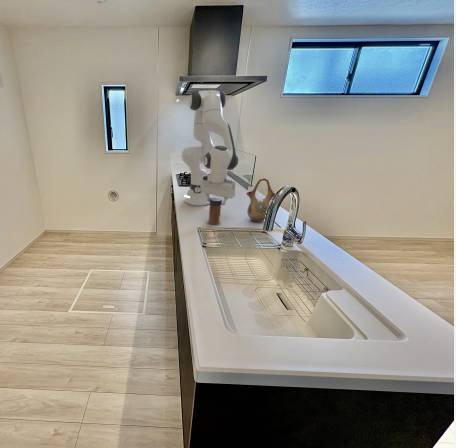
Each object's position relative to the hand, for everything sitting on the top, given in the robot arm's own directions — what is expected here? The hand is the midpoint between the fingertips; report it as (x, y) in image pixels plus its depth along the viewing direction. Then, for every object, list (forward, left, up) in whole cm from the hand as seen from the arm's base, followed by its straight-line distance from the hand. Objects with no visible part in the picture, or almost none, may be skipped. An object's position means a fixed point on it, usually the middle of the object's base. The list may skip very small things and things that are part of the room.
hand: (215, 202), depth 132 cm
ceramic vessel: (-10, +24, -12) cm, 29 cm away
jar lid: (0, 0, +2) cm, 2 cm away
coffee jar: (0, 0, -12) cm, 12 cm away
